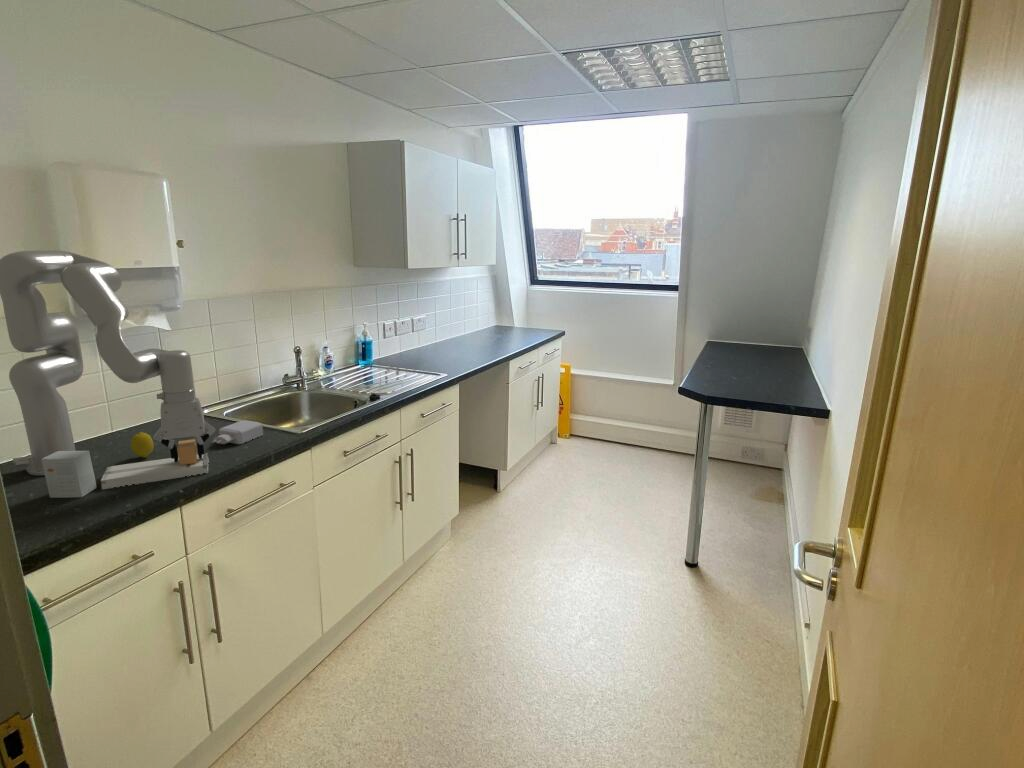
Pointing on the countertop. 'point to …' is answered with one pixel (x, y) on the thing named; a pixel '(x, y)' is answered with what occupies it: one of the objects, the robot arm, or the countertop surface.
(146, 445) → the lemon
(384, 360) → the countertop surface
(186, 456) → the fader knob
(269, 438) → the countertop surface
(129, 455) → the countertop surface
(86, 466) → the small box
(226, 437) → the grey bottle
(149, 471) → the fader panel
